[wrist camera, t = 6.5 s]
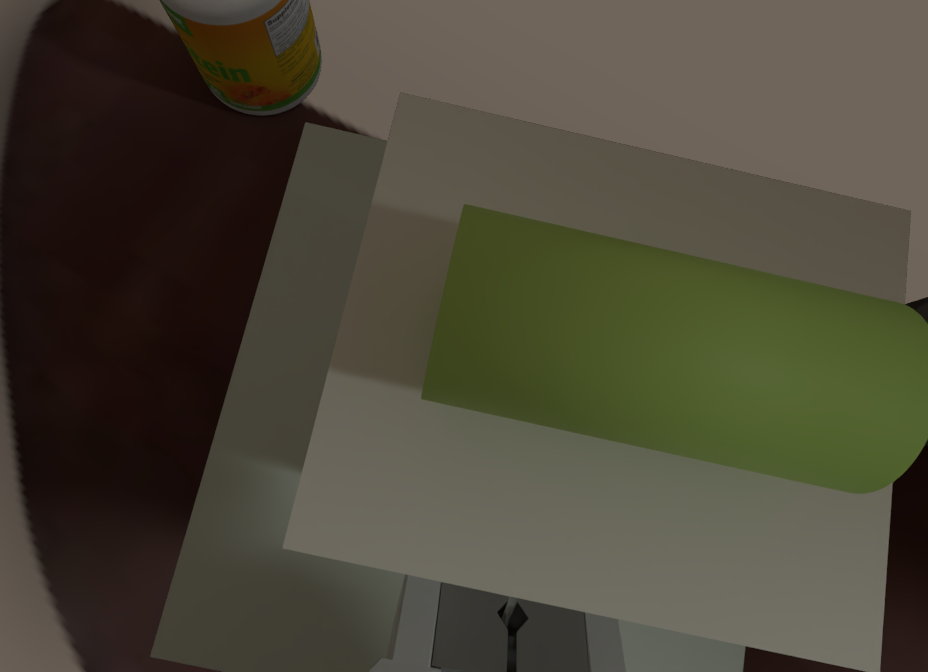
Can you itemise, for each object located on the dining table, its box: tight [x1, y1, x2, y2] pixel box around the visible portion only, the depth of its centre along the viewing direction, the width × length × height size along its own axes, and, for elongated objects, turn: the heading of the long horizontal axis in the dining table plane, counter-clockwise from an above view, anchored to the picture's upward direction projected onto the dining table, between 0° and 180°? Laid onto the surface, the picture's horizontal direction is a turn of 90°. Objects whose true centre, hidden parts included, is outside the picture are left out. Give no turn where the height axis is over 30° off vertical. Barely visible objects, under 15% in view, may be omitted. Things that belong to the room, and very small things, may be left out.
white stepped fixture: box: [150, 93, 928, 672], centre depth 12 cm, size 14×14×13 cm
